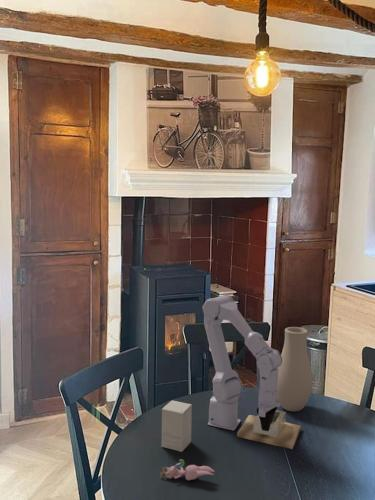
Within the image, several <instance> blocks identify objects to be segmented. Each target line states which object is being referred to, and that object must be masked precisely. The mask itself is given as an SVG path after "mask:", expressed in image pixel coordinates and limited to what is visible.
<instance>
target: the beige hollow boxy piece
mask: <svg viewBox="0 0 375 500" xmlns="http://www.w3.org/2000/svg"><path fill="white" fill-rule="evenodd" d="M256 416H257V417H256V418H255V419H254V427H253V432H255V433H260V434H264V435H269V436H273V437H278V436H279V434H280V432H281V430H282V429H283V427H284V425H285V422H286V423H287V421H286V418H287V411H282V410H278V409H277V410H276V411H275V413H274V416H273V422H271V424H270V428H269V431H264V430H262V428H261V422H260V418H259V416H258V414H257V415H256Z"/></svg>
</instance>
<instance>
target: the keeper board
mask: <svg viewBox="0 0 375 500" xmlns="http://www.w3.org/2000/svg"><path fill="white" fill-rule="evenodd" d="M256 417H257V415H252V414H248V416H247V417H246V418H245V421H244V422H243V423H242V425H241V427H239V429H238V431H237V434H236V436H237V438H242V439H246V440H251V441H255V442H259V443H264V444H267V445H272V446H277V447H281V448H285V449H289V450H293V449H294V446H295V444H296V442H297V439H298V437H299V434H300V433H301V430H302V429H301V426H302V425H300V424H296V423H290V422H287V421H286V422H285V425H284V427H283V429H282V430H281V432H280V434H279V436H278V437H273V436H269V435H264V434H260V433H255V432H253V427H254V419H255V418H256ZM272 422H273V420H272Z"/></svg>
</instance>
